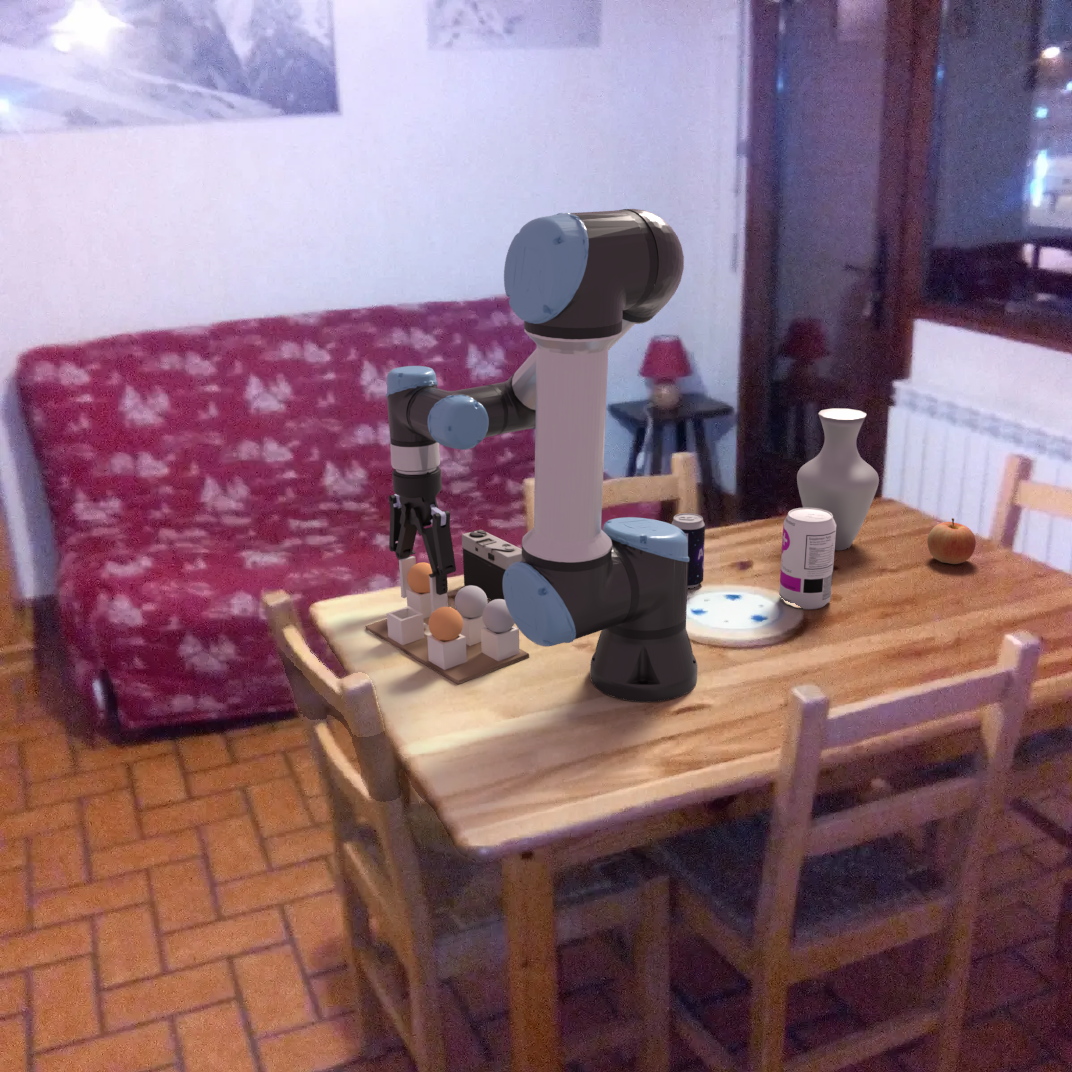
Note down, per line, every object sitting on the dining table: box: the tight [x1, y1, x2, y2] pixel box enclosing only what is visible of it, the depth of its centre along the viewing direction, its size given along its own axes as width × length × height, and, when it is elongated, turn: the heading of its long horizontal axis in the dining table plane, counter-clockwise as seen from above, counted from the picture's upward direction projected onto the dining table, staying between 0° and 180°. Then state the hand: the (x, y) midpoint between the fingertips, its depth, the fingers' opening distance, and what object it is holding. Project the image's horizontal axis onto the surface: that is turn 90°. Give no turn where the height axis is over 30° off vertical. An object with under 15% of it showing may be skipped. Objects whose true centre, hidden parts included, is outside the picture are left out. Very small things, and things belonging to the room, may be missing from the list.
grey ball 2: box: [482, 599, 516, 633], centre depth 165 cm, size 5×5×5 cm
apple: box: [926, 517, 977, 565], centre depth 199 cm, size 8×8×8 cm
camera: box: [461, 529, 522, 602], centre depth 189 cm, size 14×8×10 cm, turn 35°
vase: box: [796, 407, 880, 551], centre depth 205 cm, size 14×14×25 cm
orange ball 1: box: [407, 561, 432, 594], centre depth 180 cm, size 5×5×5 cm
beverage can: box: [670, 512, 706, 589], centre depth 190 cm, size 6×6×12 cm
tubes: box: [386, 588, 520, 670], centre depth 172 cm, size 24×12×4 cm, turn 39°
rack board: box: [364, 617, 530, 685], centre depth 172 cm, size 25×13×1 cm, turn 39°
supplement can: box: [778, 507, 836, 610], centre depth 182 cm, size 8×8×15 cm
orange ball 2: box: [429, 606, 463, 641], centre depth 163 cm, size 5×5×5 cm
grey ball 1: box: [454, 585, 489, 619], centre depth 170 cm, size 5×5×5 cm
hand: (424, 603), depth 181 cm, fingers open, 8 cm apart
